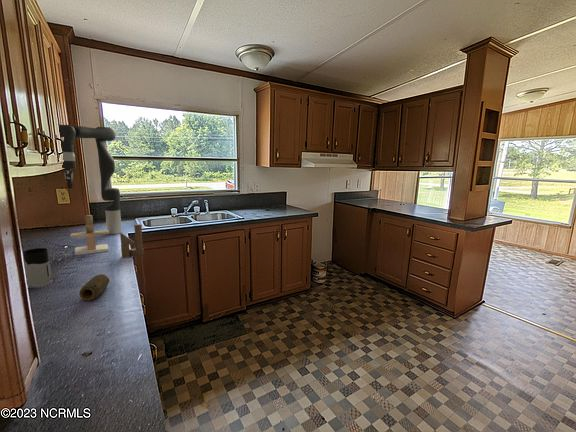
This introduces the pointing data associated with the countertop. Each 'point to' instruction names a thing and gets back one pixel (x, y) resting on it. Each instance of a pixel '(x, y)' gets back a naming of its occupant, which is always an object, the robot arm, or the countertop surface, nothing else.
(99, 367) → the countertop surface
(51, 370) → the countertop surface
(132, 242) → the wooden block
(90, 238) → the stand
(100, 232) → the bar
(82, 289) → the olive brown hollow cylinder
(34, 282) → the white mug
